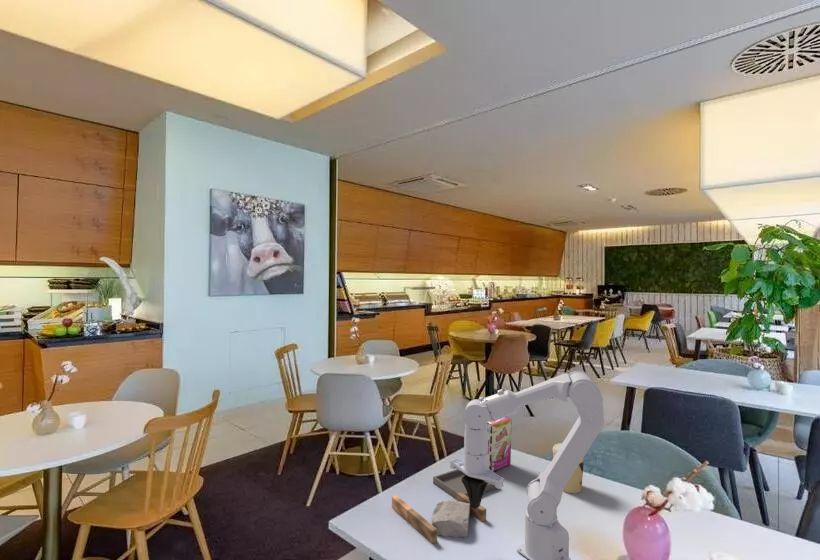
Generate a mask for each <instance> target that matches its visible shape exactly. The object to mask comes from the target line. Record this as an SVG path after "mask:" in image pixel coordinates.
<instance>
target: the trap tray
mask: <svg viewBox="0 0 820 560" xmlns="http://www.w3.org/2000/svg"><path fill="white" fill-rule="evenodd" d="M464 475H465V474H464V473H463V472H462V471H460V470H457V469H452V470H451V471H447V472H443V473H441V474H438V475H435V476H433V477H432V480H433V481H432V484H434V485H435V486H436V487H438V488H439V489H441V490H442V491H443V492H446V493H447V494H448V495H449V496H451V497H452V498H454V499H455V500H457V493H459V492H461V493H463V494H464V495H466V496H468V493H467V491H466V488H465V486H464V484H463V482H462V477H464ZM496 489H497V488H496V487H495V485H492V484H490V483H488V485H487V486H486V488H485V490H484V493H483V495H484V494H486V493H489V492H491V491H493V490H496Z"/></svg>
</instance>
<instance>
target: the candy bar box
mask: <svg viewBox="0 0 820 560" xmlns="http://www.w3.org/2000/svg"><path fill="white" fill-rule="evenodd" d="M512 420H513V419H512V418H511V417H510V416H508V417H505V418H502V419H499V420H496V421H493V422H488V423H487V432H488V468H489V469H490V470H491V471H493V472H494V473H496V472H497V471H499V470H501V469H504V468H506V467H507V466H510V465H511V463H512V462H511V460H512V456H511V455H512V425H513V424H512Z"/></svg>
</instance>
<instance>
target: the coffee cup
mask: <svg viewBox="0 0 820 560" xmlns="http://www.w3.org/2000/svg"><path fill="white" fill-rule="evenodd" d="M562 443H563V442H559V443H556V444H554V445H553V447H552V456H553V457H552V459H553V458H554V456H555V454H556V453H557V451H558V450H559V448H560V446H561V445H562ZM584 462H585V456H584V457H583V459H582V460H581V462H580V463H579V465H578V467H577V468H576V470H575V471H574V473H573V474H572V476H571V478H570V479H569V481H568V482H567V484H566V485H565V487H564V489H563V493H568V494H577V493H580V492H581V491H582V487H583V478H584V477H583V476H584V475H583V474H584V466H585V465H584Z"/></svg>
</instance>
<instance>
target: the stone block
mask: <svg viewBox="0 0 820 560" xmlns="http://www.w3.org/2000/svg"><path fill="white" fill-rule="evenodd" d="M470 516H471V514H470V504H469V503H463V502H459V501H457V500H454V499H453V500H451V499H449V500H443V501H441V502H438V503H436V505H435V508H434V509H433V512H432V515H431V517H430V519H431V525H433V526H434V527H435V528H436V529H437V536H442V537H455V538H467V537H468V534H469V525H470Z"/></svg>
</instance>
